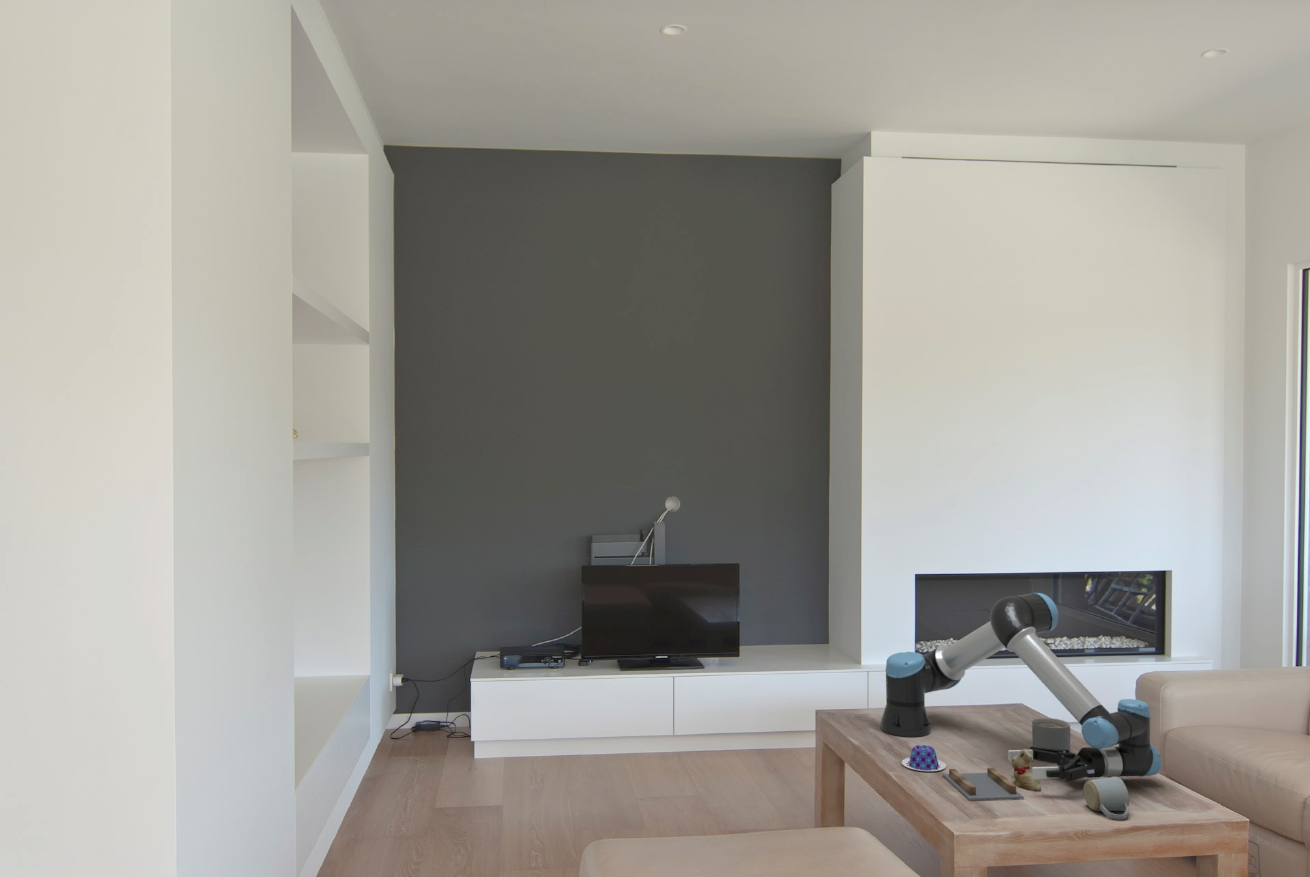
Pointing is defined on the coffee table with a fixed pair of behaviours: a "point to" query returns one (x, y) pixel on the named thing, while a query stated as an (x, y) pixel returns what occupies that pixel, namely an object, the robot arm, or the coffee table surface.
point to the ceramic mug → (1107, 796)
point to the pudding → (923, 759)
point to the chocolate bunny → (1024, 772)
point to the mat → (983, 787)
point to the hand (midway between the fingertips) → (1020, 764)
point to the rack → (990, 772)
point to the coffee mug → (1051, 734)
